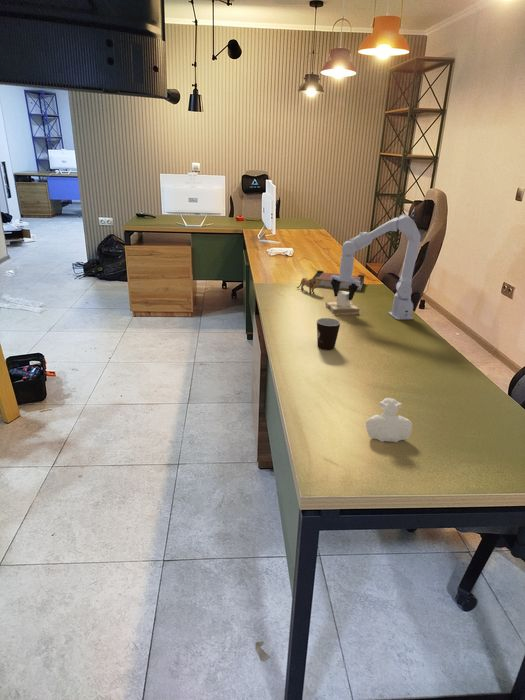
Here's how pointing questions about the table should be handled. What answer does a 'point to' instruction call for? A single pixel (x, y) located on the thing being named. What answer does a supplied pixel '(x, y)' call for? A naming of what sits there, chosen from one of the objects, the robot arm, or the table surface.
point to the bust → (389, 423)
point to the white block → (343, 299)
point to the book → (327, 283)
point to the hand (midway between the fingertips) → (343, 297)
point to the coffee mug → (327, 333)
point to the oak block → (342, 308)
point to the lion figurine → (310, 283)
